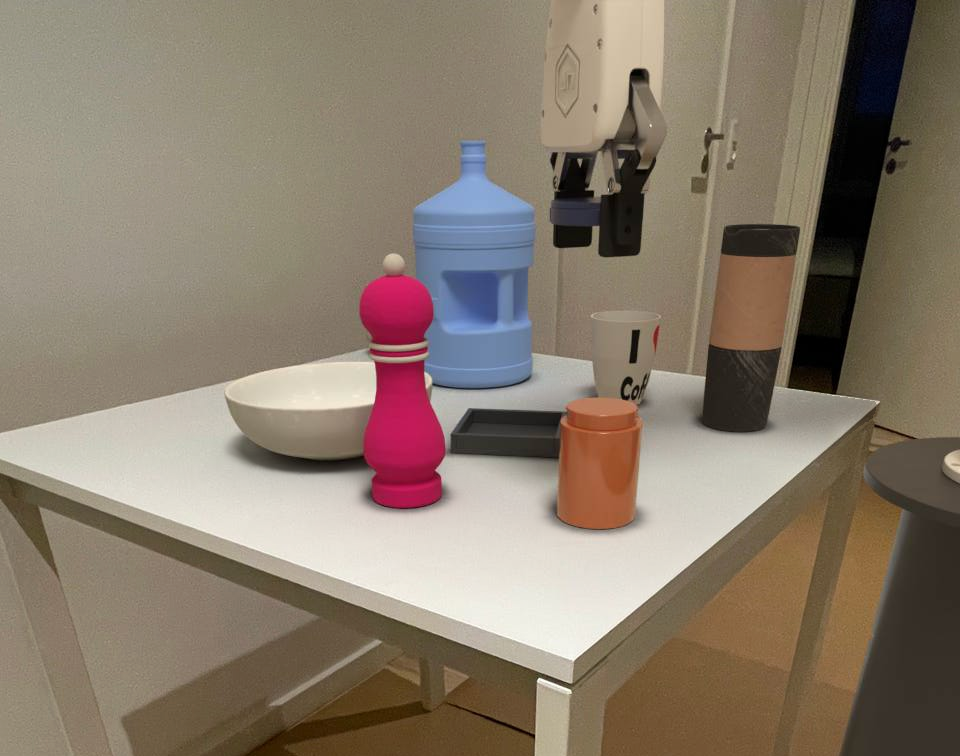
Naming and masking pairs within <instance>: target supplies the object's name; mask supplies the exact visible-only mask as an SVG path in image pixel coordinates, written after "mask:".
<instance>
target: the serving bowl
mask: <svg viewBox="0 0 960 756" xmlns="http://www.w3.org/2000/svg"><path fill="white" fill-rule="evenodd" d="M424 375H425V384H426V390H427V394H428V397H429V400H430V402H431V400H432V392H433V384H434V383H433V381H432V378H431V376H430V375H429V374H428V373H426V372H424ZM223 391H224V392H223V394H224V398H225V399H224V400H225V403H226V405H227V408H228V411H229V413H230V416H231V417H232V418H231V419H232V420H233V421H234V423H235V424H236V426H237V428H239V430H240V431H241V432H242V433H243V435H245V436H246V437H247V438H248V439H249V440H250V441H252V442H253V443H255V444H256V445H258V446H260V447H261V448H263V449H265V450H268V451H270V452H273V453H276V454H279V455H285V456H289V457H295V458H302V459H303V458H304V459H307V460H313V461H341V460H351V459H356V458H361V457H364V454H363V441H364V435H365V430H366V427H367V424H368V421H369V418H370V415H371V412H372V408H373V405H374V402H375V395H376V370H375V362H374V361H330V362H318V363H307V364H297V365H291V366H285V367H278V368H273V369H269V370H264V371H260V372H257V373H253V374H250V375H246V376H244V377H241V378H239V379H236V380H234V381H233V382H231V383H229V385H227V386H226V387H225V388H224V390H223Z"/></svg>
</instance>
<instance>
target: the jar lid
mask: <svg viewBox="0 0 960 756" xmlns="http://www.w3.org/2000/svg"><path fill="white" fill-rule="evenodd" d="M600 205H601V196H594V197H576V198H562V199H555V200H554V199H552V200H550V207H549V222H550V224H552V225H553V224H555V225H564V226H593V227H599V225H600ZM643 212H644V210H643Z"/></svg>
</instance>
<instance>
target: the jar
mask: <svg viewBox="0 0 960 756" xmlns="http://www.w3.org/2000/svg"><path fill="white" fill-rule="evenodd" d="M565 410H566V412H567V415H566V416H564V417H563V418H561V420H560V442H559V458H558V468H557V469H558V471H557V473H558V474H557V497H556V498H557V499H556V516H557V517H558V519H559V520H561V521H562V522H563V523H566V524H568V525H569V526H574V527H577V528H581V529H587V530H589V529H590V530H609V529H617V528H622V527H624V526H626V525H629V524H631V523H632V522H633V521H634V519H635V518H636V506H637V495H638V484H639V475H640V474H639V473H640V463H641V462H640V460H641V450H642V439H643V427H644V422H643V420H642V419H641V418H640V417H639V414H640V413H639V412H638V410H639V407H638V405H636V404H634V403H632V402H629V401H626V400H622V399H616V398H600V397H585V398H579V399H574V400H573V401H570V402H569V403H567V404H566V405H565ZM565 410H564V411H565Z"/></svg>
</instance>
